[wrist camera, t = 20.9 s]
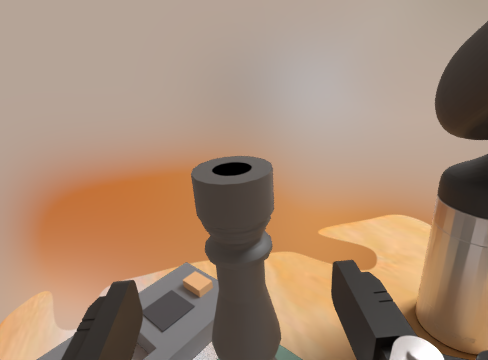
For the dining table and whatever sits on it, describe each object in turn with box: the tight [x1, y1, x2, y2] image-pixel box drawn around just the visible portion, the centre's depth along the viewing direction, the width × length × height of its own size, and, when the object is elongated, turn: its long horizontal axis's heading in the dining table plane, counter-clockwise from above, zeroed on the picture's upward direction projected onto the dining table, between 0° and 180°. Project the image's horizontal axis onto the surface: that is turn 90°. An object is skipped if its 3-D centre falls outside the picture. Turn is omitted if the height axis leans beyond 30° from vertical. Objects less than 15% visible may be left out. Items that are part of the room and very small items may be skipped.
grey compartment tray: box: [37, 262, 219, 360], centre depth 38 cm, size 22×12×4 cm, turn 139°
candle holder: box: [191, 156, 281, 360], centre depth 26 cm, size 6×6×25 cm
